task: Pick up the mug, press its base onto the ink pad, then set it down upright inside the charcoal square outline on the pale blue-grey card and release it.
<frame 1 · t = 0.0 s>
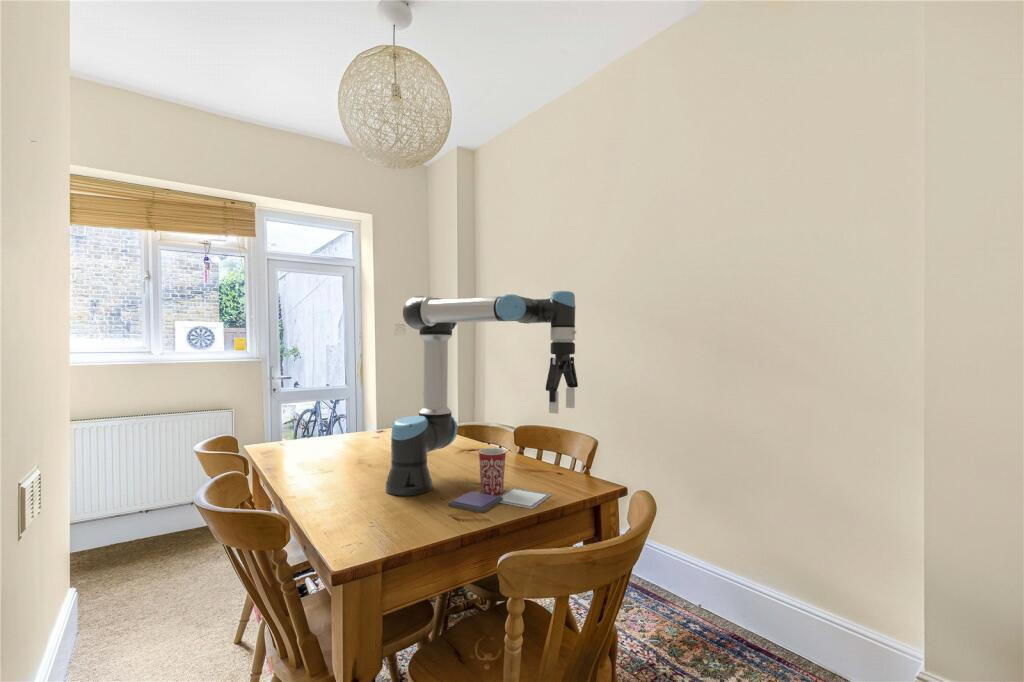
hand: (562, 410, 143), 28 cm above the table, fingers open, 13 cm apart
ink pad: (476, 503, 140), on the table
print card: (521, 498, 145), on the table
mug: (492, 491, 153), on the table
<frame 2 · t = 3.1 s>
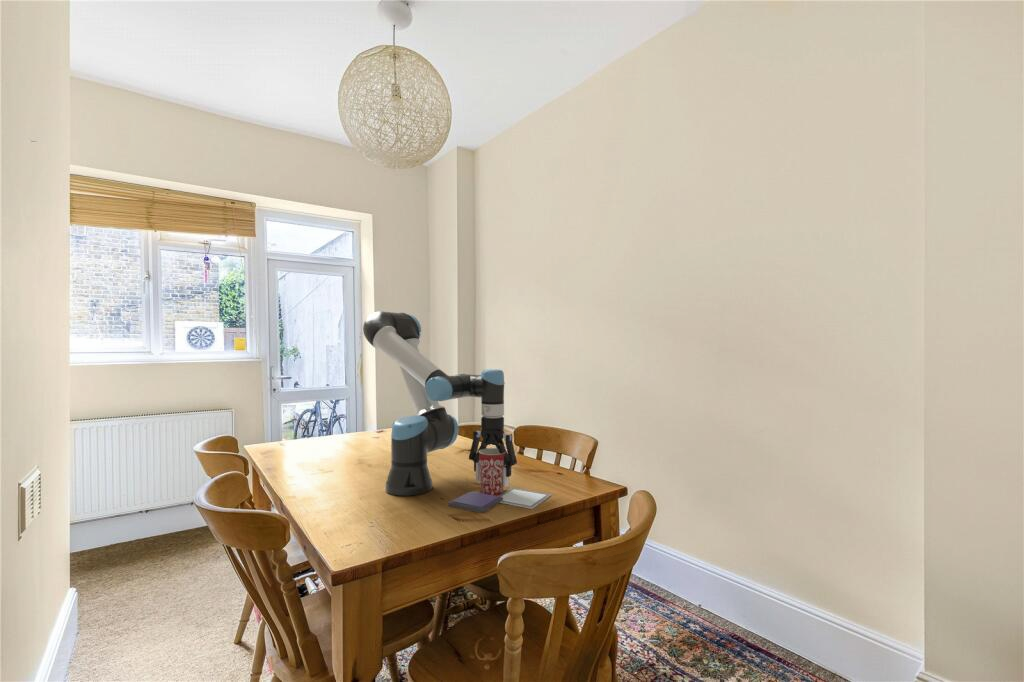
hand: (492, 483, 153), 2 cm above the table, fingers open, 10 cm apart
mug: (492, 491, 153), on the table, touching gripper
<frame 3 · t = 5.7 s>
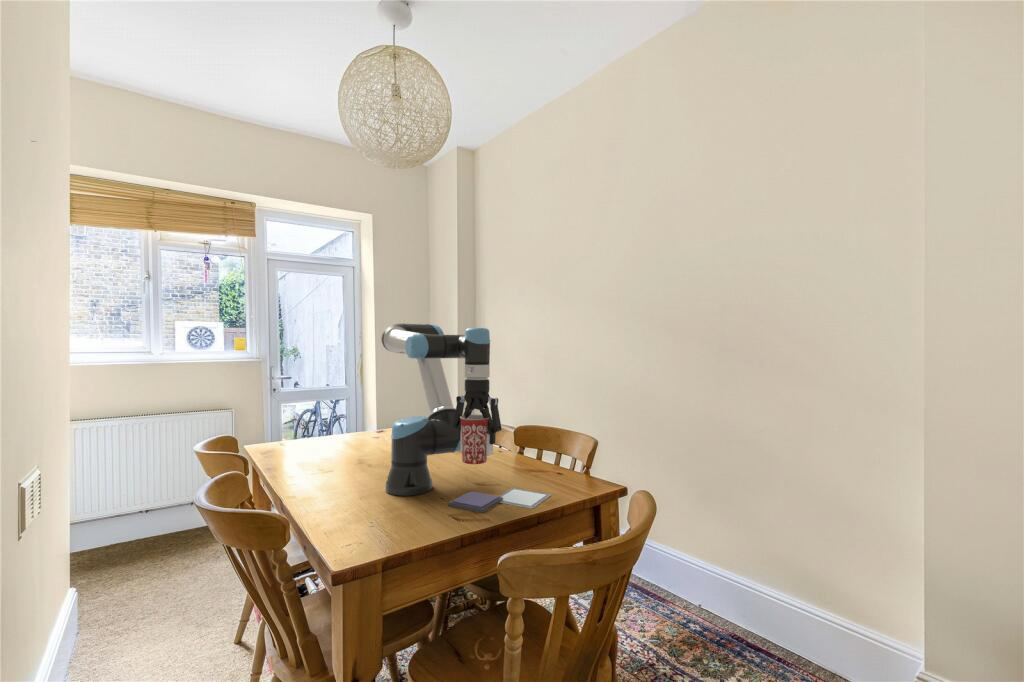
hand: (476, 453, 140), 15 cm above the table, fingers closed on mug, 8 cm apart
mug: (474, 460, 141), point 13 cm above the table, touching gripper
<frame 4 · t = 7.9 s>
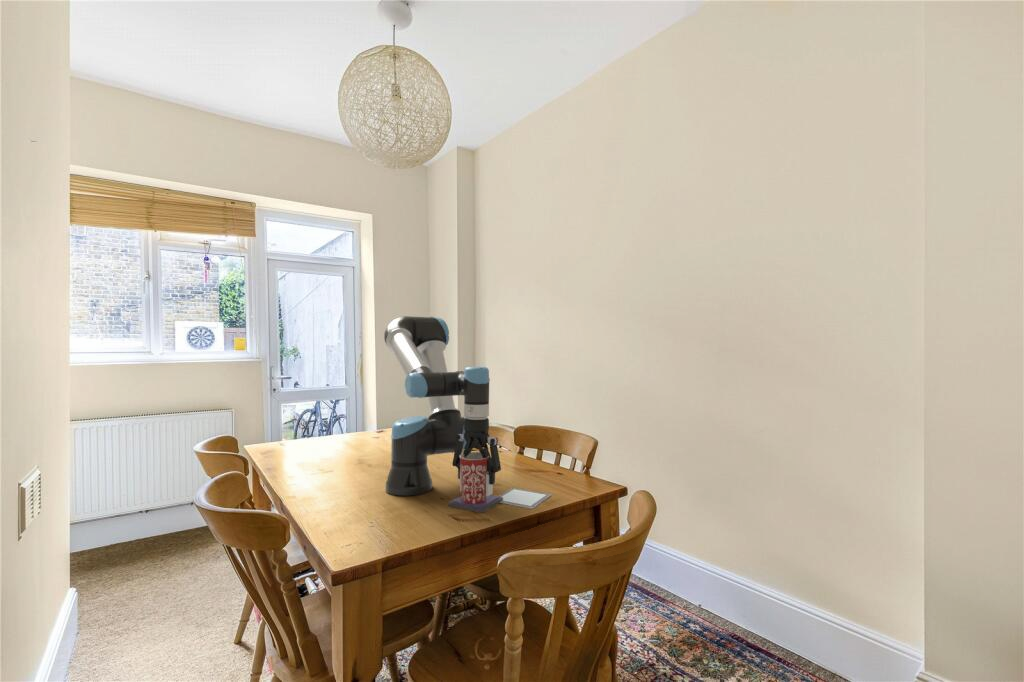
hand: (476, 492, 140), 3 cm above the table, fingers closed on mug, 9 cm apart
mug: (474, 499, 140), point 1 cm above the table, touching gripper, ink pad
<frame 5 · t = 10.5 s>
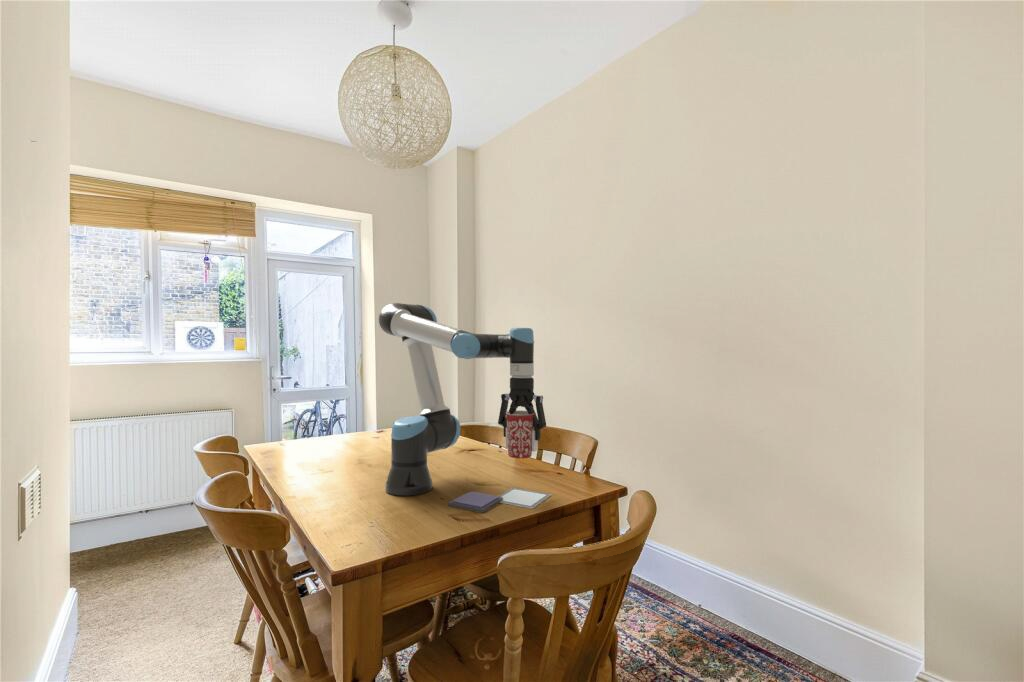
hand: (521, 448, 145), 16 cm above the table, fingers closed on mug, 8 cm apart
mug: (519, 455, 145), point 13 cm above the table, touching gripper
when the fingers open (4 cm above the table, at t = 13.1 s): mug drops 1 cm, resting on print card.
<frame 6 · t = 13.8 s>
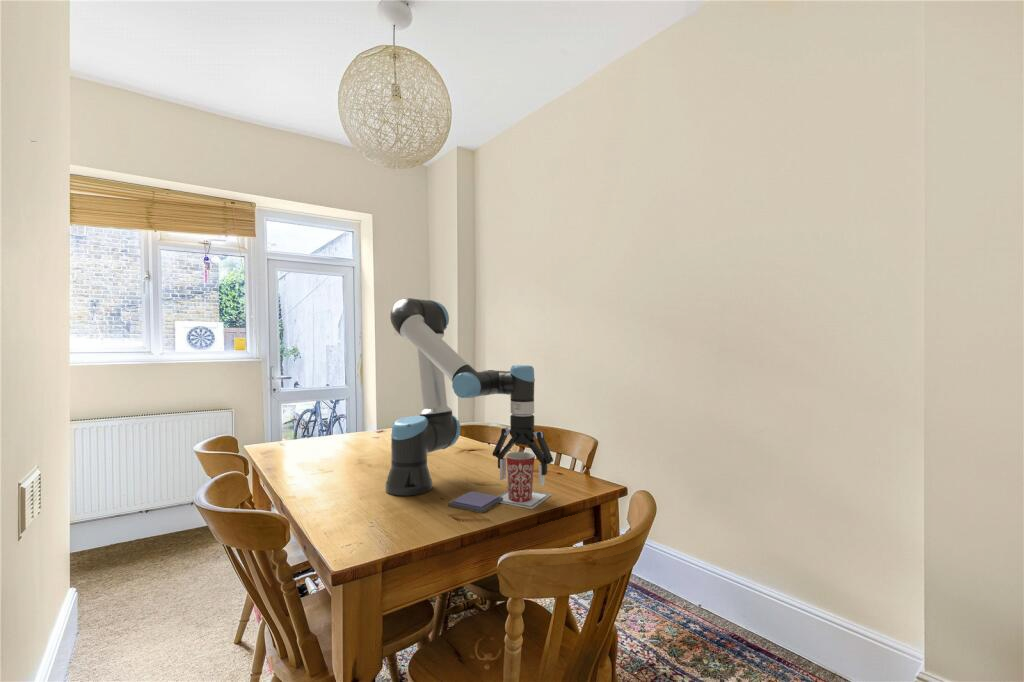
hand: (521, 482, 145), 5 cm above the table, fingers open, 13 cm apart
mug: (520, 497, 146), resting on print card
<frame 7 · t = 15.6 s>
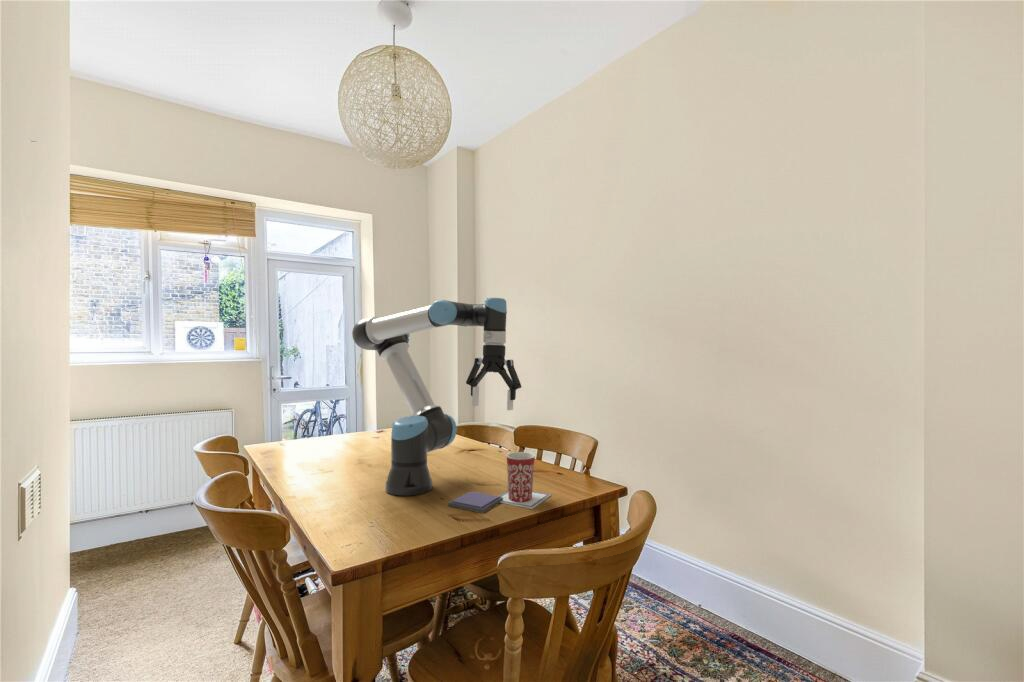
hand: (492, 407, 154), 27 cm above the table, fingers open, 13 cm apart
nothing on the table moved.
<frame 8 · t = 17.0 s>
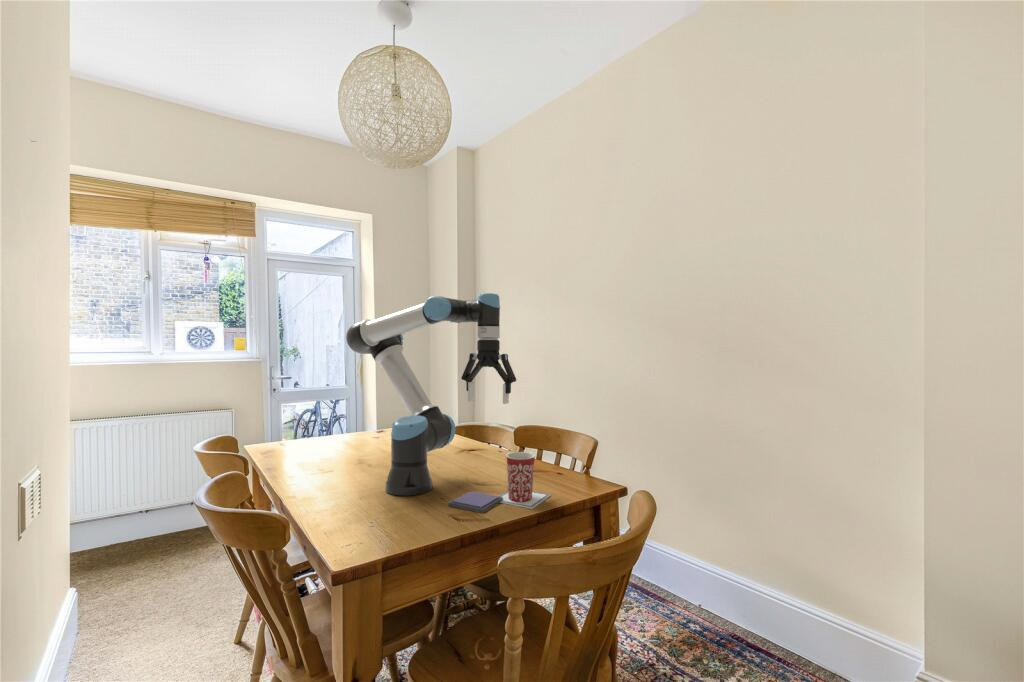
hand: (488, 402, 156), 29 cm above the table, fingers open, 13 cm apart
nothing on the table moved.
at the end: mug inside the target area on the print card (0.6 cm from its centre), point 0.1 cm above the print card's base; mug tilted 0°; the gripper is holding nothing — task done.
